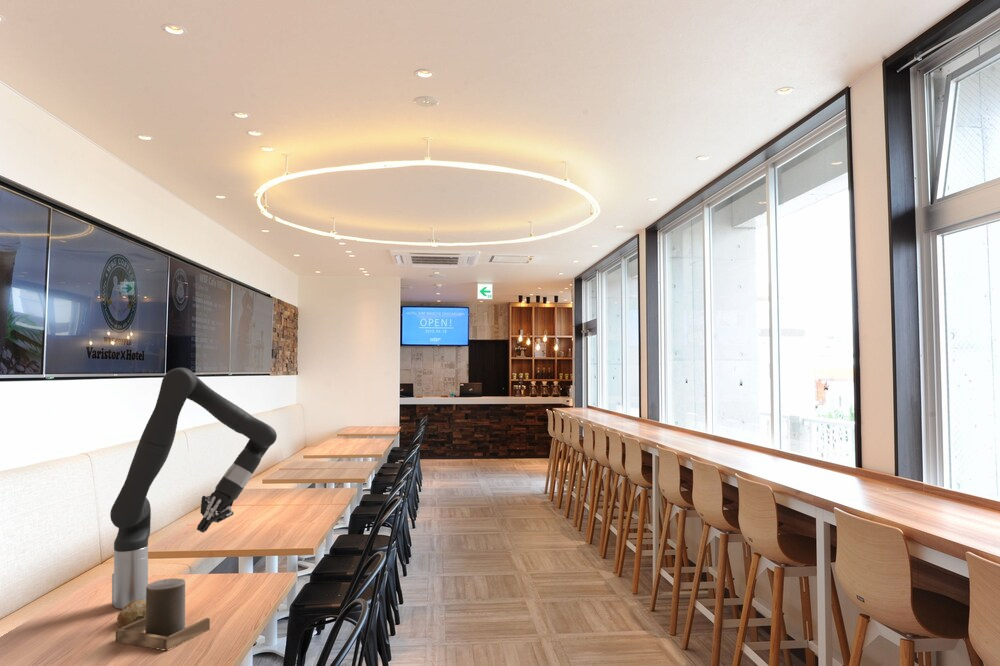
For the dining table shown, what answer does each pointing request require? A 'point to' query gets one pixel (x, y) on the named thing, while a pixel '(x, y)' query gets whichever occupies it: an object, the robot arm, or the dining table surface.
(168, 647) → the brown wooden u-shaped frame
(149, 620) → the pillar candle
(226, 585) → the dining table surface
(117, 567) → the robot arm
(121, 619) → the bread roll
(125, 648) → the dining table surface
